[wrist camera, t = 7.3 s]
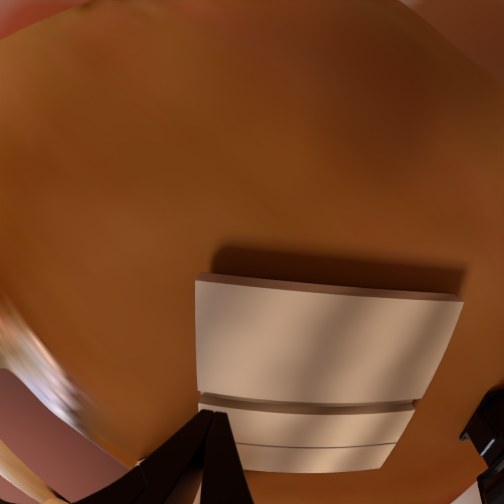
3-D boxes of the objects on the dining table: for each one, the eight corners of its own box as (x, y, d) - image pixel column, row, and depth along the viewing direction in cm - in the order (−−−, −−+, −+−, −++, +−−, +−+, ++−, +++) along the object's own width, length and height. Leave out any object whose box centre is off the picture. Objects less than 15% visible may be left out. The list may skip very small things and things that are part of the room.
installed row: (413, 391, 18) (419, 402, 16) (376, 457, 20) (379, 468, 19) (202, 382, 19) (197, 395, 17) (204, 451, 21) (201, 463, 19)
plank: (455, 293, 15) (464, 301, 14) (416, 388, 17) (421, 398, 16) (200, 272, 16) (195, 280, 15) (201, 379, 18) (197, 390, 17)
